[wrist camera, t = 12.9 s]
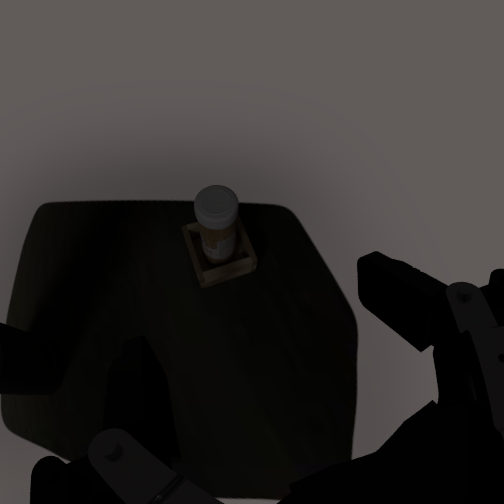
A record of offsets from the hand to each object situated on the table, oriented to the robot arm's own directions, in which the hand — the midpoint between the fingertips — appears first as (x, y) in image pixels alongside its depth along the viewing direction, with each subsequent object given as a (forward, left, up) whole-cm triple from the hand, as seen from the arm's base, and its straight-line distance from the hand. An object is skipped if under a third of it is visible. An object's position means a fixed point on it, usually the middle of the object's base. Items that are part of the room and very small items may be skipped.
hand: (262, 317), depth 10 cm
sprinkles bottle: (+2, +14, -28) cm, 32 cm away
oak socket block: (+2, +15, -29) cm, 32 cm away
